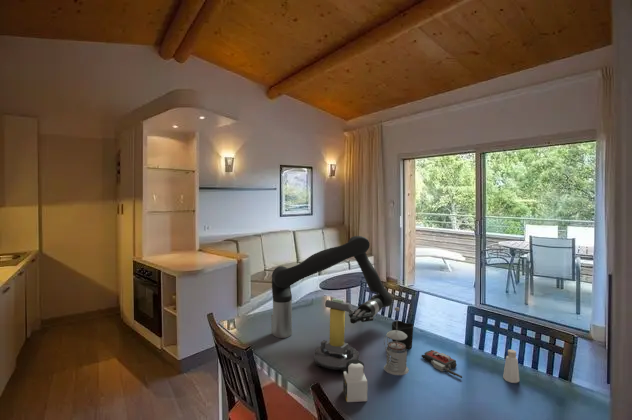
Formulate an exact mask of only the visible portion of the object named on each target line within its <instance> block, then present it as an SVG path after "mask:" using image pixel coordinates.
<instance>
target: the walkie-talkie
mask: <svg viewBox="0 0 632 420" xmlns="http://www.w3.org/2000/svg"><path fill="white" fill-rule="evenodd" d="M420 357H421V358H422V359H424V361H426V362H428V363H430V364H432V366H433V368H435V369H436V370H439V371H440V372H447V373H449V374H451V375H453V376H456V377H459V378H460V379H462V378H463V376H462V375H461V374H459V373H457V372H455V371H453V370H451V369H455V368H457V365H458V364H457V360H455V359H454V358H451V356H450V355H448V354H446V353H443V352H441V353H440V352H438V351H437V350H434V349H433V350H432V349H431V350H428V351H424V353H423V354H421V356H420Z"/></svg>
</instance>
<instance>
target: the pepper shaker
mask: <svg viewBox="0 0 632 420" xmlns="http://www.w3.org/2000/svg"><path fill="white" fill-rule="evenodd" d="M502 374H503V375H502V378H503V379H504V381H506V382H508V383H512V384H518V383H519V382H520V371H519V360H518V358H517V351H516V350H514V349H508V350H507V355H506V356H505V363H504V370H503V373H502Z"/></svg>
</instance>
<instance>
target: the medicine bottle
mask: <svg viewBox="0 0 632 420" xmlns="http://www.w3.org/2000/svg"><path fill="white" fill-rule="evenodd" d="M342 377H343V382H342V383H343V385H342V389H343V393H344V398H345V401H346V402H347V403H357V402H367V401H368V379H367V377H366V375H365V363H364V361H362V360H360V359H359V360H349V361H348V362H347V363H346V371H344V372H343V374H342Z"/></svg>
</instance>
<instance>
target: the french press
mask: <svg viewBox="0 0 632 420" xmlns="http://www.w3.org/2000/svg"><path fill="white" fill-rule="evenodd" d="M394 311H396V312H399V311H400V307H398V306H395V307H394ZM386 337H387V341H386V342H385V339H386ZM406 338H407V335H406V334H405V333H404V332H402V331H398V330H393V331H392V330H390V331H388V332H387V333H386V335H385V336H384V340H383V345H384V349H385V352H386V363H385V364H384V366H383V370H384V371H385V372H386V373H387V374H390V375H393V376H404V375H407V374H408V373H409V372H410V369H409V367H408V365H407V362H408V361H407V359H408V358H407V357H408V356H407V355H408V354H407V353H408V352H407V351H408V350H406V348H405V347H406V345H405V344H404V343H401V342H397V340H405V339H406ZM392 339H393V340H396V341H389V340H392ZM385 343H386V344H387V346H386V344H385ZM402 349H404V350H402Z"/></svg>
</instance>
